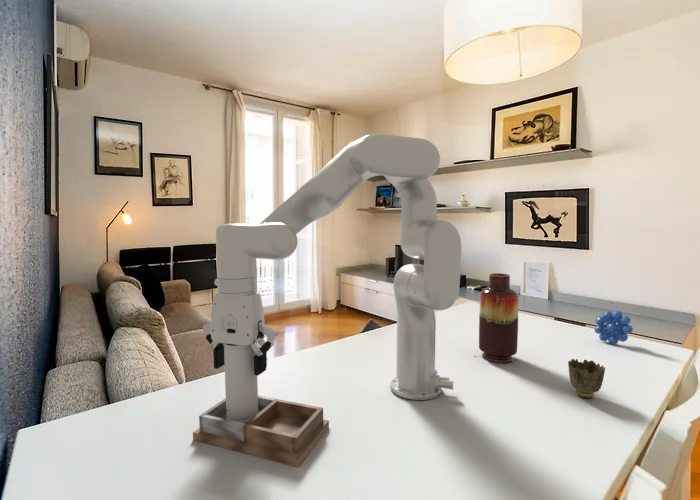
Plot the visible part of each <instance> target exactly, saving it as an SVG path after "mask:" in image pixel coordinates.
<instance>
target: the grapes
mask: <svg viewBox="0 0 700 500" xmlns="http://www.w3.org/2000/svg"><path fill="white" fill-rule="evenodd" d="M594 321H595V324H596V326H595V327H594V333H596V334H599V335H598V338H599V340H600V341H602V342H608V343H609V344H610V345H616V344H618V343H619V342H622V343H623V342H626V341H628V339H629V336H628V335H629V334H630V335H631V334H632V332H633V330H634V328H633V326H632V325H629V324H631V318H630V316H627V315H623V313H622V312H621V310H614V311H613V312H612V311H609V310H606V311H604V312H602V315H601V316H598V317H597V318H596V319H595V320H594Z"/></svg>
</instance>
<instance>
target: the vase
mask: <svg viewBox="0 0 700 500" xmlns="http://www.w3.org/2000/svg"><path fill="white" fill-rule="evenodd" d="M488 276H489V277H488V278H489V279H488V287H486V288H484V289H482V290H481V291H480V293H479V316H478V319H479V320H478V322H479V323H478V348H479V350H481V352H483V353H482V354H481V357H482V358H483V359H484V360H486V361H487V362H491V363H494V364H495V363H497V364H509V363H510V364H511V363H512V362H513V361H514V357H513V356H514V355H516V354H517V352H518V338H519V337H518V334H519V302H520V301H519V298H520V297H519V294H518V293H517V291H515V290H514V289H512V288H511V285H510V284H511V282H510V281H511V279H510V278H511V277H510V276H511V275H510V274H508V273H501V272H499V273H497V272H496V273H494V272H493V273H489V275H488Z"/></svg>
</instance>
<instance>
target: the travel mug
mask: <svg viewBox="0 0 700 500" xmlns="http://www.w3.org/2000/svg"><path fill="white" fill-rule="evenodd" d="M235 332H236V331H235V329H227V333H235ZM223 345H224V360H225V365H224V378H225V379H224V384H225V388H224V389H225V398H226V415H227V416H226V419H227V420H232V421H236V422H241V423H245V424H246V423H247V422H249V421H250V420H251V419H252V418H253V417H255V416H256V415H257V414H258V396H259V395H258V394H259V393H258V391H259V390H258V389H259V387H258V376H257V375H255V374H254V356H255V355H256V353H255V351H254V350H253V348H252V347H251V346H237V345H233V344H223Z"/></svg>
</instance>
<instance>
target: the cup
mask: <svg viewBox="0 0 700 500" xmlns="http://www.w3.org/2000/svg"><path fill="white" fill-rule="evenodd" d="M578 360H579V359H578V358H576V359H574V358H571V359H570V360H568V362H567V363H568V374H569V381H570V384H571V385H572V386H573V388H574V389H575V393H576V395H577V396H578V397H580V398H581V399H587V400H591V399H593V398H594V397H595V393H597V392H599V391H600V390H601V388H602V386H603V382H604V377H605V371H606V367H605V366H604V365H603V364H602V365H600V363H599V362H598V363H596V362H595V361H593V360H587V359H584V360H583V362H582V361H578Z"/></svg>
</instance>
